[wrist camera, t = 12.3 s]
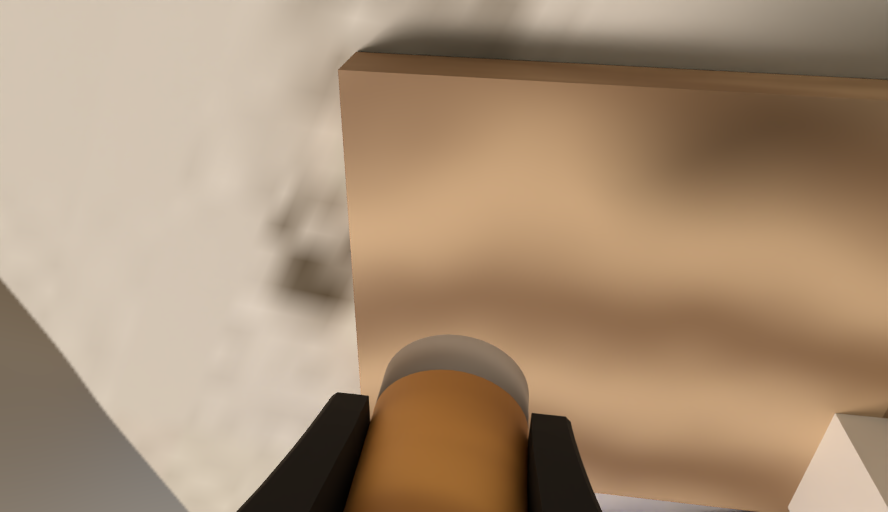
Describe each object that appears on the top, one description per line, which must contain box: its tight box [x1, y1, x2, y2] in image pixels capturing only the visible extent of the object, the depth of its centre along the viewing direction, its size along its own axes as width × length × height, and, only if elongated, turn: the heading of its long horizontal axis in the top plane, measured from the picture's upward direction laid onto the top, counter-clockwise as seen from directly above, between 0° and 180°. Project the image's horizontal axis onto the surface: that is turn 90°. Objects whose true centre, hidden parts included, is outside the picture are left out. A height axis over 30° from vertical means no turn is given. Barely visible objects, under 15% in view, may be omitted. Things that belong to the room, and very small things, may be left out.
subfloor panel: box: [338, 52, 888, 512], centre depth 20 cm, size 16×28×2 cm, turn 89°
